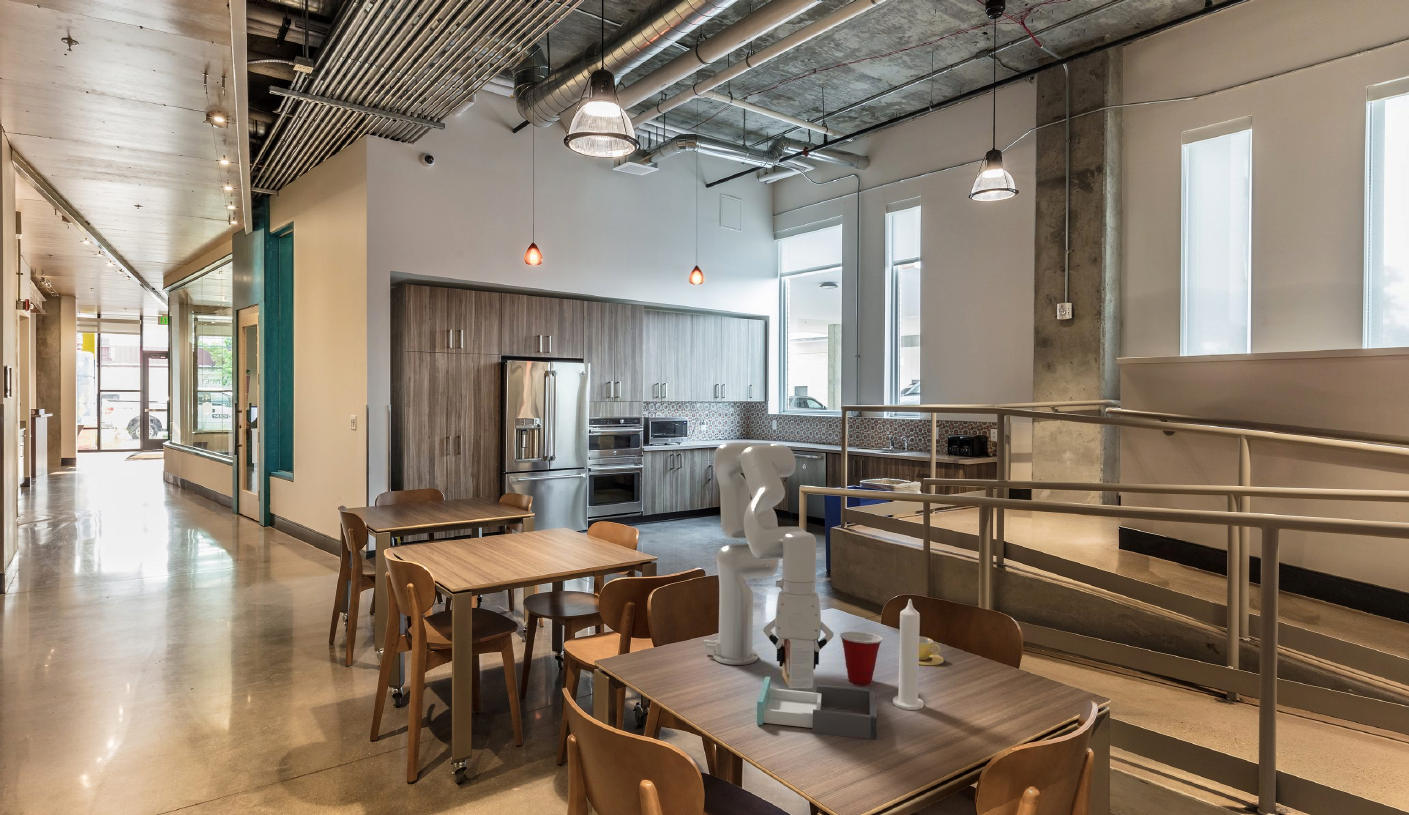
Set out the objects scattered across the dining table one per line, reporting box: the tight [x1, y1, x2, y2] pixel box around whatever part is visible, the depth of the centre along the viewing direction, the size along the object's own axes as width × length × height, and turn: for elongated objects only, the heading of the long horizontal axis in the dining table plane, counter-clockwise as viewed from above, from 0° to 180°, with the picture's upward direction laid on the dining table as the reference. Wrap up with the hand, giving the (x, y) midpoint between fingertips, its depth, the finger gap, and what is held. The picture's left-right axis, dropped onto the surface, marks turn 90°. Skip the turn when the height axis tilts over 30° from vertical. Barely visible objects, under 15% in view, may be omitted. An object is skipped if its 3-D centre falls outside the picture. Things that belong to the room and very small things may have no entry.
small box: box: [781, 639, 815, 689], centre depth 165 cm, size 8×6×10 cm
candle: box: [892, 598, 924, 711], centre depth 172 cm, size 7×7×25 cm
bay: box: [811, 684, 878, 740], centre depth 163 cm, size 13×16×4 cm
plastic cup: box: [839, 630, 884, 687], centre depth 186 cm, size 11×11×12 cm
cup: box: [919, 636, 945, 666], centre depth 205 cm, size 12×12×5 cm
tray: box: [756, 676, 822, 729], centre depth 165 cm, size 13×15×5 cm
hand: (797, 665), depth 165 cm, fingers closed on small box, 6 cm apart
